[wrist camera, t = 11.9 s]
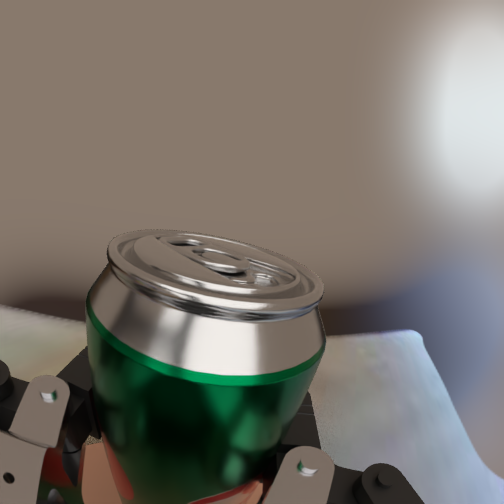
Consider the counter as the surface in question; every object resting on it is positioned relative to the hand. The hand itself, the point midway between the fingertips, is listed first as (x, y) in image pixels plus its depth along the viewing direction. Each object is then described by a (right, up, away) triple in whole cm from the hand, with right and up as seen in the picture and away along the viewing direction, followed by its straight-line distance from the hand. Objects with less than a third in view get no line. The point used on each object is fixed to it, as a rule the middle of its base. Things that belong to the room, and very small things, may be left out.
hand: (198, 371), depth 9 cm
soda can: (-1, -7, -1) cm, 8 cm away
